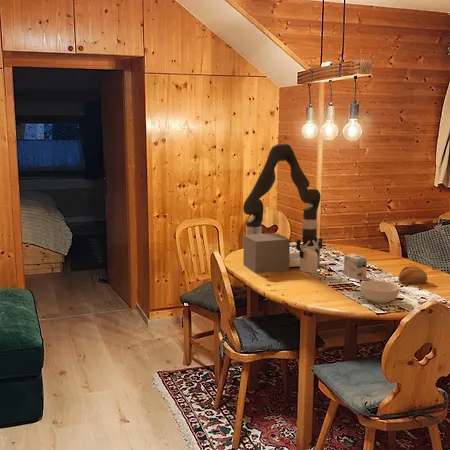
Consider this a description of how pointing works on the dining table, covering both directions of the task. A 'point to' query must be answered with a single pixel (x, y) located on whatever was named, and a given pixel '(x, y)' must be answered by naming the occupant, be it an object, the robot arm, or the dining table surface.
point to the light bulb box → (355, 266)
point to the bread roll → (412, 275)
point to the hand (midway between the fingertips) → (309, 257)
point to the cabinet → (266, 252)
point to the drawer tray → (295, 258)
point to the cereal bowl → (379, 291)
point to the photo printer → (309, 261)
